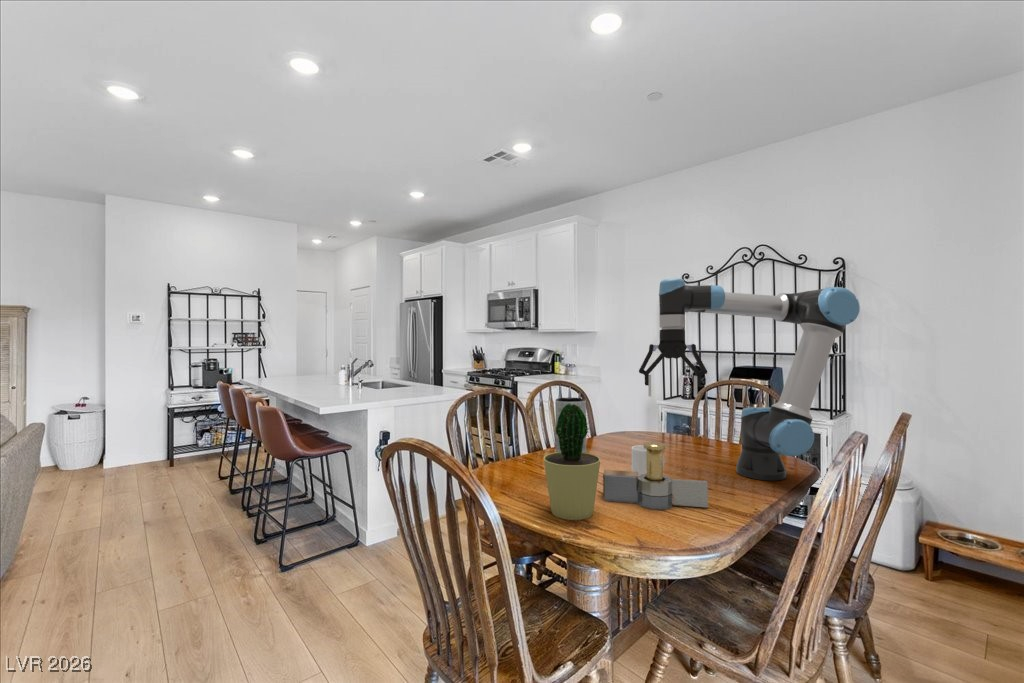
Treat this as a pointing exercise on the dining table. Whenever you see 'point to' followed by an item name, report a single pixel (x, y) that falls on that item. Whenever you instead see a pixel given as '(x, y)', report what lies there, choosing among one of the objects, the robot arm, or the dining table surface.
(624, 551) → the dining table surface
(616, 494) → the hinge base
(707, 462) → the dining table surface
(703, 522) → the dining table surface
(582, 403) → the vase
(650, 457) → the hinge pin
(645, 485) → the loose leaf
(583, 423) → the potted cactus
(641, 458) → the mug
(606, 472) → the block
